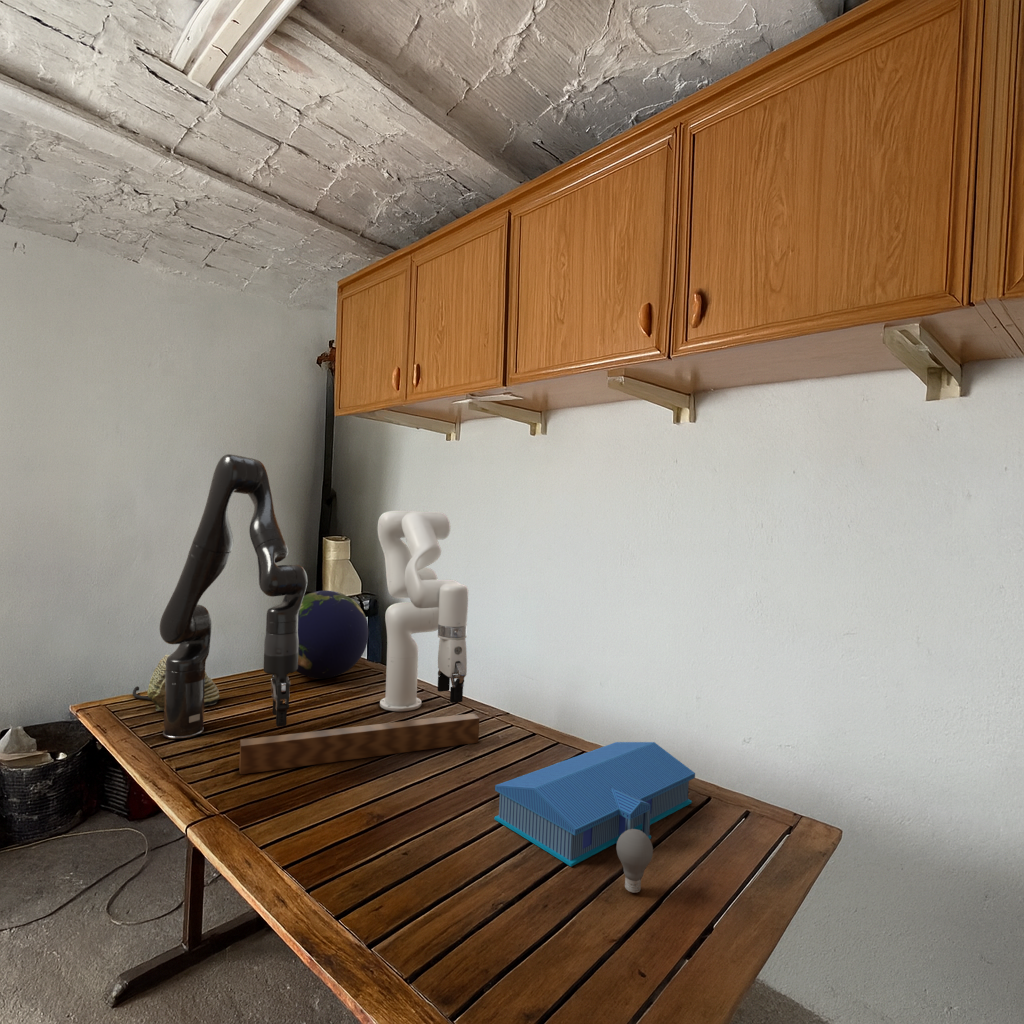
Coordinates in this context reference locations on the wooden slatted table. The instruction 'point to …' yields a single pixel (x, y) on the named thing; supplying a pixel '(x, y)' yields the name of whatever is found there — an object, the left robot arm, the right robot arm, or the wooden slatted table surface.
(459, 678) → the right robot arm
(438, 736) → the bar
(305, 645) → the globe
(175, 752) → the wooden slatted table surface
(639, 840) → the light bulb
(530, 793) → the model building
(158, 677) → the fossil
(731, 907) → the wooden slatted table surface
